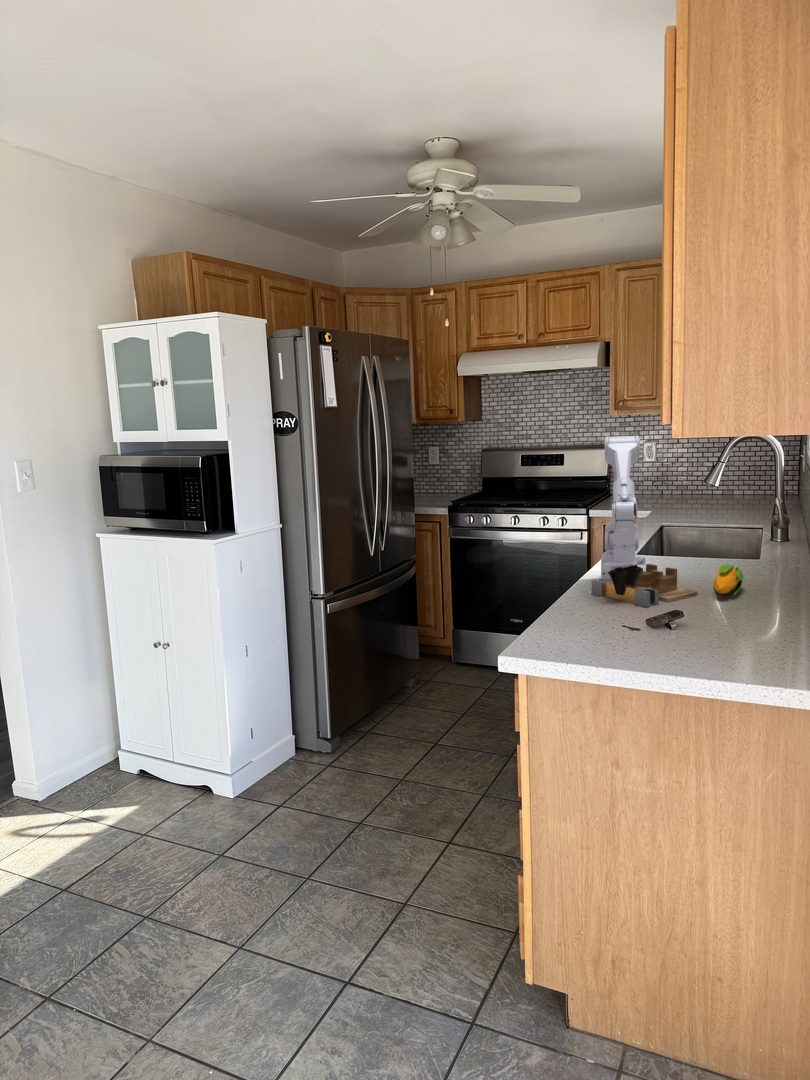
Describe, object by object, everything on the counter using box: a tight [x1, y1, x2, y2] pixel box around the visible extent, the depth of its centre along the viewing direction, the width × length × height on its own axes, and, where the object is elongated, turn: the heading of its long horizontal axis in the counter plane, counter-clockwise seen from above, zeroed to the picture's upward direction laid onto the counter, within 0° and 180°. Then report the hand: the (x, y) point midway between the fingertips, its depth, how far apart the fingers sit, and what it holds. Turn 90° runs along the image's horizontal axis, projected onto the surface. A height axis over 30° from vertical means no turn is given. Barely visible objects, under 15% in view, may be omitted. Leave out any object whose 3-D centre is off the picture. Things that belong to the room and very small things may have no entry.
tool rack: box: [635, 563, 699, 603], centre depth 216 cm, size 20×12×7 cm, turn 31°
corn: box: [712, 563, 744, 597], centre depth 211 cm, size 7×8×20 cm
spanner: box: [591, 577, 660, 608], centre depth 210 cm, size 20×5×4 cm, turn 31°
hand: (624, 593), depth 210 cm, fingers closed on spanner, 3 cm apart
